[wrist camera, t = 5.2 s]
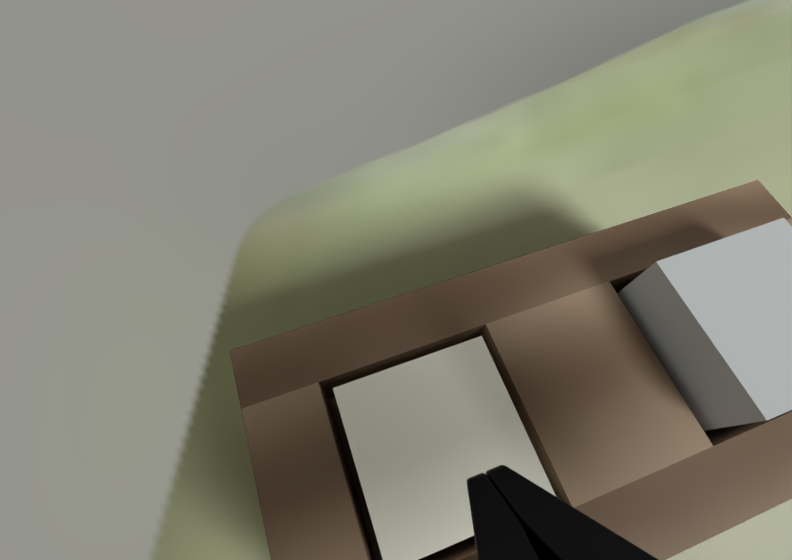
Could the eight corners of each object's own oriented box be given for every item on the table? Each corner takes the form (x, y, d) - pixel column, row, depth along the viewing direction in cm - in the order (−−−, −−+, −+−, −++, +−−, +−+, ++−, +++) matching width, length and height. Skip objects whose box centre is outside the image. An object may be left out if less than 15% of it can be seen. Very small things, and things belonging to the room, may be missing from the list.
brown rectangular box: (767, 436, 21) (974, 412, 14) (339, 628, 17) (303, 738, 10) (650, 267, 25) (761, 176, 18) (282, 394, 21) (227, 348, 14)
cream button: (526, 496, 15) (557, 499, 12) (386, 555, 14) (387, 573, 11) (466, 358, 17) (481, 335, 14) (341, 403, 16) (332, 388, 13)
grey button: (814, 380, 15) (908, 358, 12) (694, 432, 14) (767, 420, 12) (720, 259, 17) (784, 217, 14) (611, 298, 16) (656, 261, 14)
